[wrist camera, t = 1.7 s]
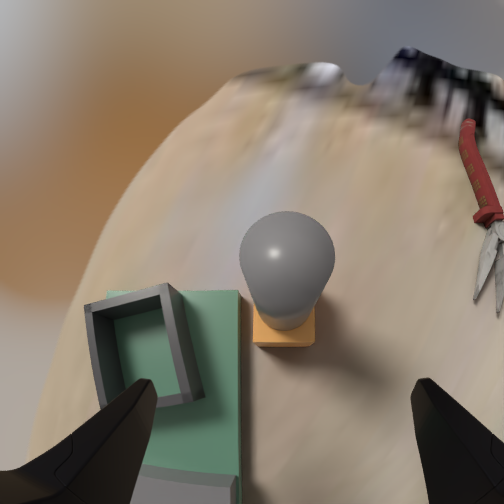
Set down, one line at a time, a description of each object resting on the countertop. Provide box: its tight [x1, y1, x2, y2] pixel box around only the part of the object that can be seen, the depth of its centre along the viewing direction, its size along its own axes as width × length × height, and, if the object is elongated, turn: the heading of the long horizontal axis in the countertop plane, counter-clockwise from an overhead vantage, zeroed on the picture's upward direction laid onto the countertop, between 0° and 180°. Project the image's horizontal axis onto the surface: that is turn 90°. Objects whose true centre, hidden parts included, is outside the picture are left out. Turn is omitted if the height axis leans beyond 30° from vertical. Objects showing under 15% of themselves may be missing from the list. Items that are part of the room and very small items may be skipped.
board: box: [106, 290, 242, 504], centre depth 18 cm, size 21×10×2 cm, turn 0°
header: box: [84, 283, 205, 409], centre depth 18 cm, size 7×6×3 cm
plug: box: [239, 211, 335, 347], centre depth 16 cm, size 4×4×12 cm
